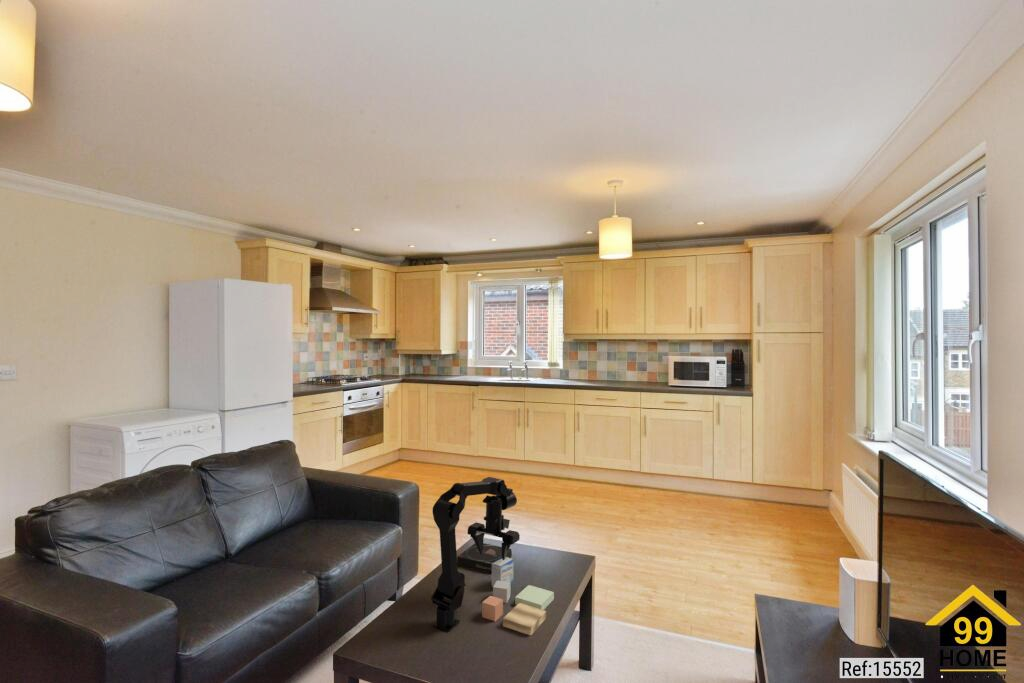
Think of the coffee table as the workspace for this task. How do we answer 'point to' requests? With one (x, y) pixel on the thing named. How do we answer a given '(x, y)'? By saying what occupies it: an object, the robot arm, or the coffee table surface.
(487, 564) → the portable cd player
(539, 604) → the green slab
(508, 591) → the grey block
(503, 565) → the medicine box
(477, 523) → the robot arm
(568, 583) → the coffee table surface
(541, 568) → the coffee table surface
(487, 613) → the terracotta block
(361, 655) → the coffee table surface
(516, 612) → the oak slab
